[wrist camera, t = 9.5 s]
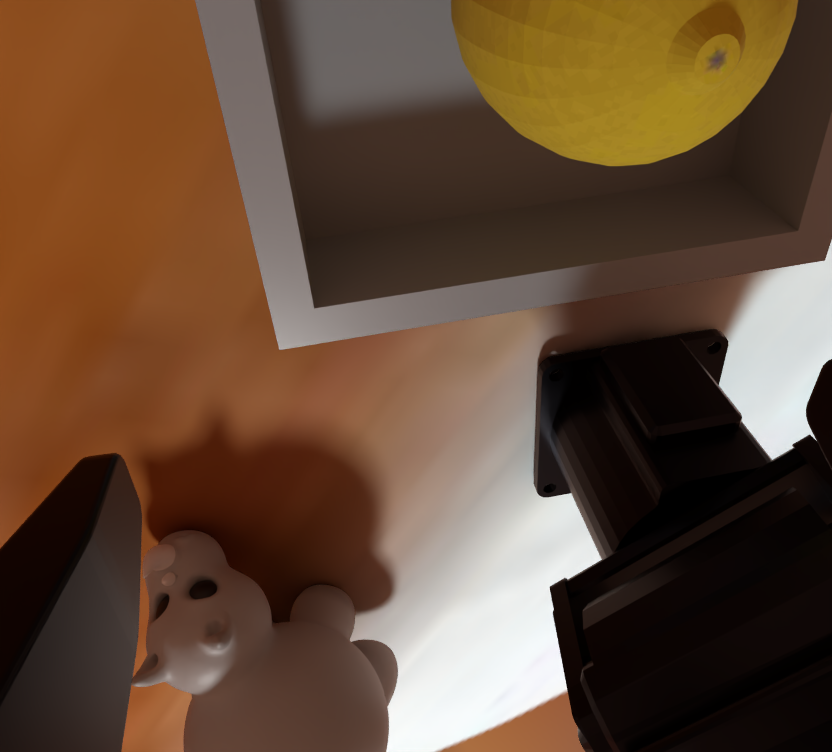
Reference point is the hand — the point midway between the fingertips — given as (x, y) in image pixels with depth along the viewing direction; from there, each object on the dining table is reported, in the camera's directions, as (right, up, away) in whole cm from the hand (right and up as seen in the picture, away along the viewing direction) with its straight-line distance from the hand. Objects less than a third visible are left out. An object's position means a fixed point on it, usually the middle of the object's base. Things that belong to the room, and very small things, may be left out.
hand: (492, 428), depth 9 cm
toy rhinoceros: (-7, -8, +20) cm, 23 cm away
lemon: (+2, +10, +7) cm, 13 cm away
